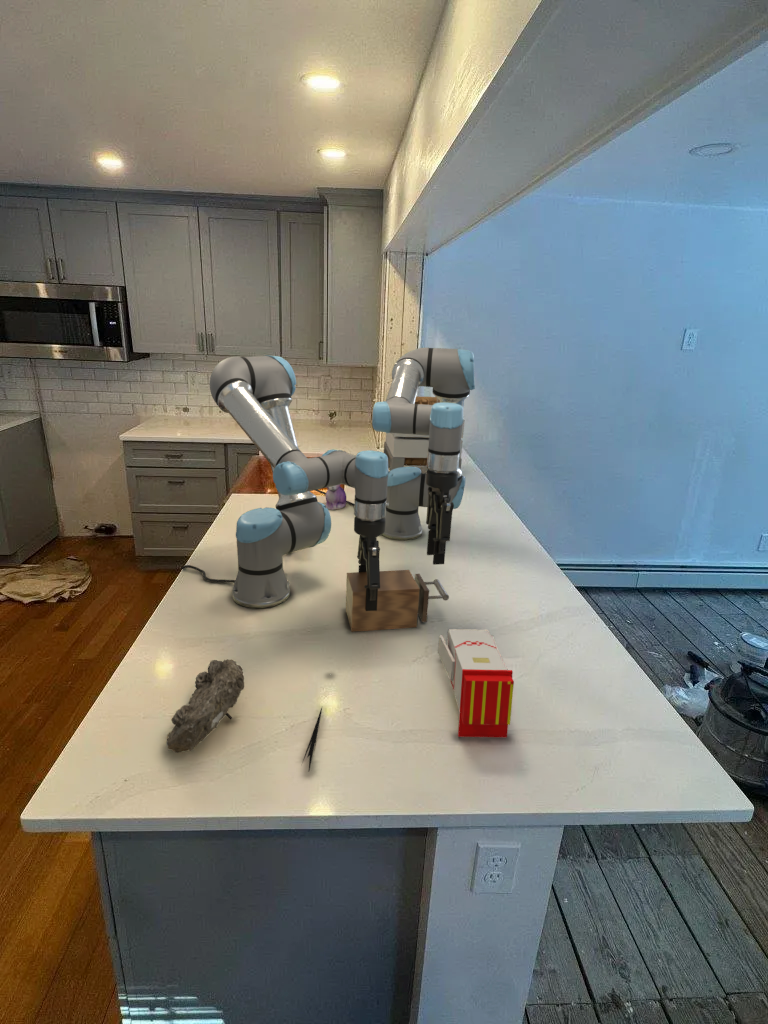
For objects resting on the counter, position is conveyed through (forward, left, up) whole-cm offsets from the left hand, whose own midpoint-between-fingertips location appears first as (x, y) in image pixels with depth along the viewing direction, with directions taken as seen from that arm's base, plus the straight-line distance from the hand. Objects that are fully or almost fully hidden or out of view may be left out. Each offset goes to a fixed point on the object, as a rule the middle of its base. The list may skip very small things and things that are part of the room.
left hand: (367, 598), depth 142 cm
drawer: (+8, +5, -5) cm, 11 cm away
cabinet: (+3, +2, -6) cm, 7 cm away
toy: (+30, -20, -6) cm, 36 cm away
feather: (+4, -38, -6) cm, 39 cm away
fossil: (-16, -45, -6) cm, 48 cm away
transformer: (-20, +139, -6) cm, 140 cm away
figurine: (-39, +77, -6) cm, 87 cm away
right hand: (+15, +8, +10) cm, 20 cm away
